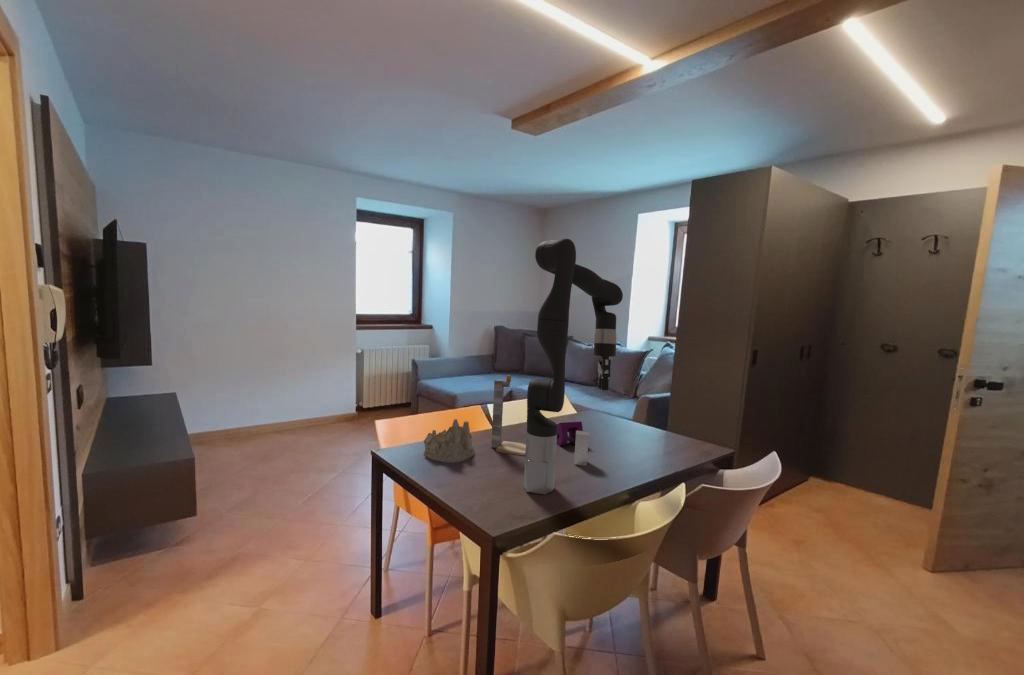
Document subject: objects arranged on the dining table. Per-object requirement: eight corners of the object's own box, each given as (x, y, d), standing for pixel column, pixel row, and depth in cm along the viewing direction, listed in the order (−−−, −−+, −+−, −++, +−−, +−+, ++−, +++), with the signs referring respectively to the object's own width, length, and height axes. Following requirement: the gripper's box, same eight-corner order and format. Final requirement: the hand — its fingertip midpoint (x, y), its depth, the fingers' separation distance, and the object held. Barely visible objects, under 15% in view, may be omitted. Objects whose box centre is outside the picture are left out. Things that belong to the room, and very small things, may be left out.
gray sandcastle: (481, 453, 161) (479, 413, 160) (449, 467, 148) (447, 423, 146) (450, 446, 170) (449, 408, 169) (418, 458, 157) (416, 417, 156)
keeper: (524, 455, 161) (528, 379, 159) (488, 450, 164) (491, 376, 162) (530, 446, 172) (534, 375, 169) (496, 441, 175) (499, 372, 173)
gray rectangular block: (586, 461, 158) (588, 431, 157) (586, 466, 154) (588, 435, 153) (574, 460, 159) (576, 430, 158) (573, 464, 154) (575, 434, 154)
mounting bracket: (545, 450, 186) (563, 444, 170) (543, 430, 189) (560, 422, 173) (565, 448, 189) (584, 442, 174) (562, 428, 192) (581, 421, 176)
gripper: (619, 342, 145) (617, 391, 144) (613, 344, 159) (611, 388, 158) (596, 341, 146) (594, 390, 145) (592, 343, 160) (590, 387, 159)
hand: (603, 389), depth 151 cm, fingers open, 8 cm apart
